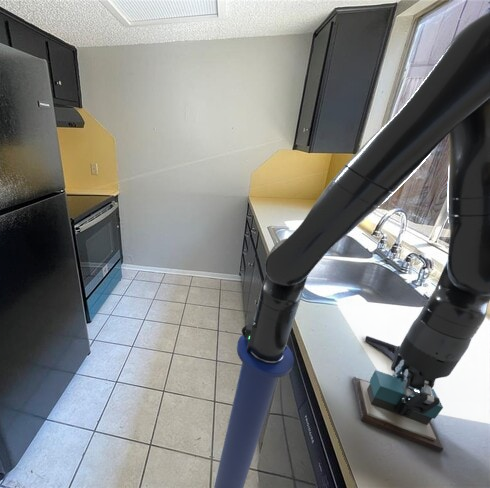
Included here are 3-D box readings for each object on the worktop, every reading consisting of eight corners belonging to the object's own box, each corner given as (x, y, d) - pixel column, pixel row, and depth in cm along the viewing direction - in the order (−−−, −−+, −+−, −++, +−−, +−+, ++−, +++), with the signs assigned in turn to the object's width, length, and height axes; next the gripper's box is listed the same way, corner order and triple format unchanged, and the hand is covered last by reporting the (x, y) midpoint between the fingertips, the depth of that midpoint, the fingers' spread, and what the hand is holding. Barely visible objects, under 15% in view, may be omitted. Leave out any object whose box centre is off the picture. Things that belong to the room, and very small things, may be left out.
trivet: (360, 420, 54) (363, 415, 54) (352, 379, 64) (354, 374, 63) (441, 452, 50) (445, 447, 49) (418, 403, 59) (422, 397, 58)
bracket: (368, 374, 65) (372, 366, 64) (364, 338, 77) (368, 331, 76) (446, 406, 58) (452, 398, 57) (428, 361, 70) (433, 354, 69)
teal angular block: (369, 404, 56) (380, 385, 53) (365, 388, 60) (375, 369, 57) (429, 426, 52) (443, 407, 50) (420, 407, 56) (433, 388, 53)
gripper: (396, 315, 56) (368, 371, 63) (422, 364, 44) (384, 426, 51) (441, 326, 53) (407, 383, 60) (483, 382, 41) (433, 445, 48)
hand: (396, 403), depth 55 cm, fingers closed on teal angular block, 4 cm apart
